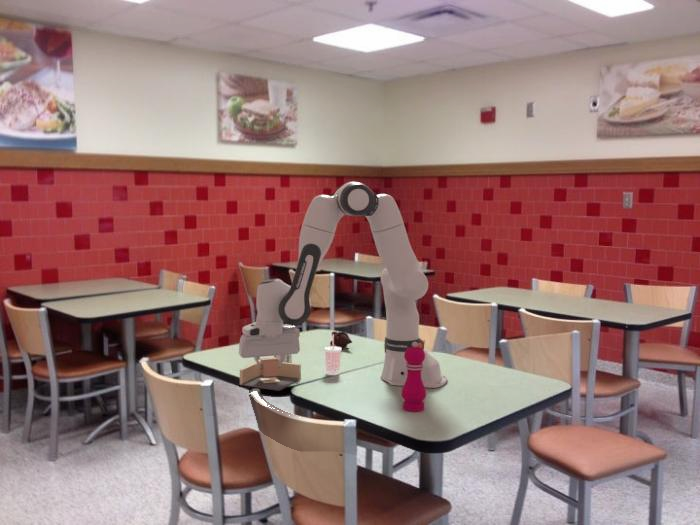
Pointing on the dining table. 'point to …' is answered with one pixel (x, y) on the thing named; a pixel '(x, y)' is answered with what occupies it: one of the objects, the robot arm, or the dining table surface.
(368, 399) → the dining table surface
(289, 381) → the arena
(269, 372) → the cube
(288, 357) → the syrup box
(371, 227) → the robot arm
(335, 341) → the brown gnome figurine
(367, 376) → the dining table surface
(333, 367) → the beverage cup
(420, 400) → the pepper mill
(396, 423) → the dining table surface
